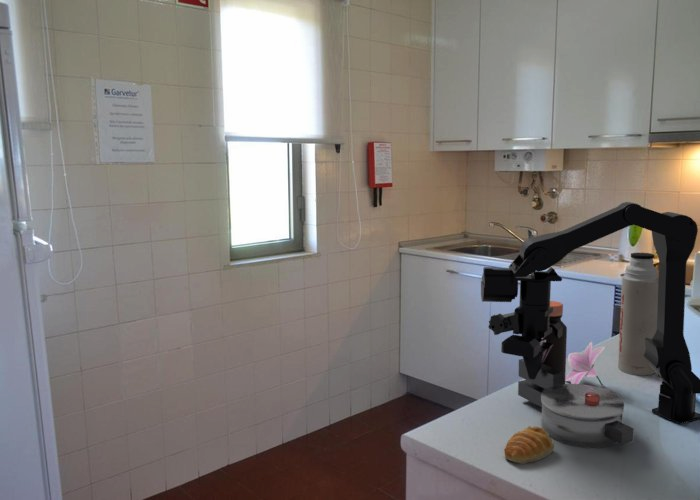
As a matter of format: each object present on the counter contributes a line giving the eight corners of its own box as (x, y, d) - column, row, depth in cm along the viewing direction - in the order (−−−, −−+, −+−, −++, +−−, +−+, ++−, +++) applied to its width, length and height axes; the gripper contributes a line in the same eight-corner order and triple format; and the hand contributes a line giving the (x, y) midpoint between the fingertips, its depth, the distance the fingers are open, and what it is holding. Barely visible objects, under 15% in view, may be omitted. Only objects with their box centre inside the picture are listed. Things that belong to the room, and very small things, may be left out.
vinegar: (542, 384, 133) (544, 298, 130) (570, 393, 128) (573, 303, 125) (525, 393, 129) (527, 303, 125) (554, 402, 124) (557, 309, 120)
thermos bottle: (614, 371, 140) (619, 254, 135) (622, 361, 146) (627, 249, 142) (652, 378, 135) (658, 257, 131) (657, 367, 141) (664, 252, 137)
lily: (571, 375, 141) (553, 344, 138) (621, 364, 134) (604, 330, 132) (568, 409, 131) (550, 376, 128) (623, 399, 125) (604, 363, 122)
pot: (548, 393, 128) (548, 371, 127) (655, 445, 104) (656, 418, 104) (496, 405, 123) (496, 382, 122) (596, 463, 99) (597, 435, 98)
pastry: (528, 472, 97) (528, 450, 97) (493, 457, 102) (493, 437, 102) (557, 451, 104) (557, 431, 103) (522, 439, 109) (523, 419, 108)
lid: (549, 369, 128) (550, 353, 127) (641, 410, 107) (642, 390, 106) (495, 382, 122) (495, 364, 121) (581, 427, 101) (582, 406, 100)
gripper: (512, 289, 128) (510, 359, 130) (476, 306, 113) (474, 384, 115) (564, 295, 121) (561, 369, 124) (534, 314, 106) (531, 397, 109)
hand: (532, 378), depth 118 cm, fingers closed
